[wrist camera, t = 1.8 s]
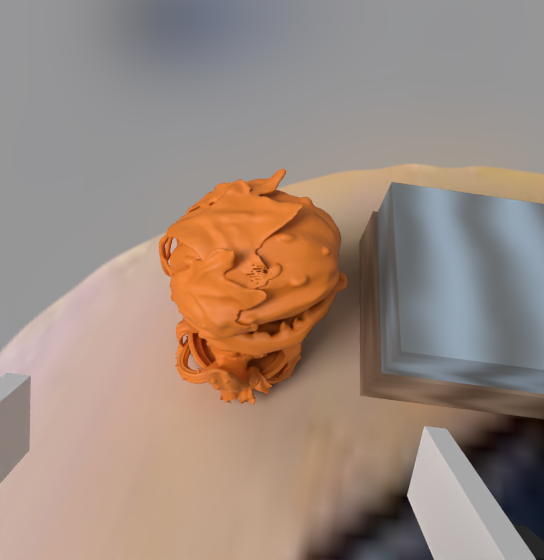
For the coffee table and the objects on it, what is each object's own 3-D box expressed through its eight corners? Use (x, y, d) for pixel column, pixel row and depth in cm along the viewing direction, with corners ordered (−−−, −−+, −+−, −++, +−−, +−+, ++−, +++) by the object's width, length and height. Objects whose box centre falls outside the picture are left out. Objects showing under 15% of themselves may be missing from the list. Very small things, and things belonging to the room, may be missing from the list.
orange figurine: (305, 430, 33) (377, 328, 18) (159, 409, 33) (106, 286, 18) (315, 300, 39) (376, 139, 24) (191, 281, 39) (173, 106, 24)
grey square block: (512, 262, 44) (570, 205, 36) (546, 419, 36) (629, 385, 28) (359, 241, 43) (387, 178, 36) (360, 395, 35) (396, 355, 28)
